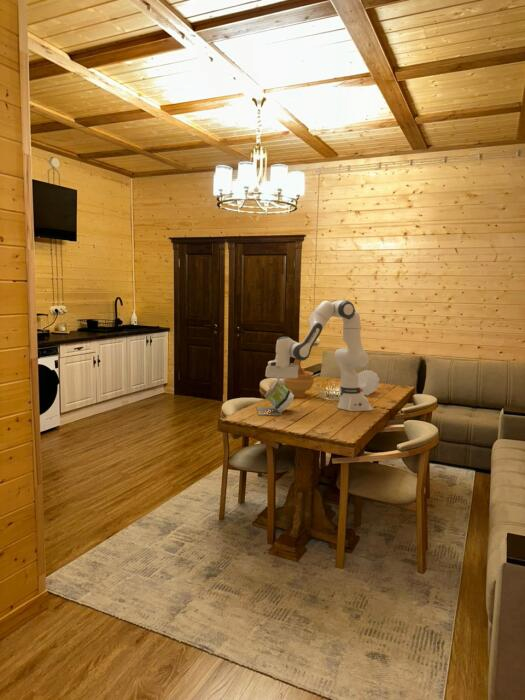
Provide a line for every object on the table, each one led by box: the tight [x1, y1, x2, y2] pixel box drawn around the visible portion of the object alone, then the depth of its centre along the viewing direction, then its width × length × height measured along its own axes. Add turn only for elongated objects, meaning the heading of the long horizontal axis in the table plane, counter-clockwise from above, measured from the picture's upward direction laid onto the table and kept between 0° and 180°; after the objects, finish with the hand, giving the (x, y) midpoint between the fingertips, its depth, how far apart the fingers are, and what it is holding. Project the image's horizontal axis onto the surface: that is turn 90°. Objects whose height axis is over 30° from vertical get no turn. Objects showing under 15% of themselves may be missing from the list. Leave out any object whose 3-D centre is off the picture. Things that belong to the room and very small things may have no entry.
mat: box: [255, 406, 284, 416], centre depth 299 cm, size 15×20×1 cm
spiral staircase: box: [357, 369, 380, 396], centre depth 362 cm, size 18×18×25 cm
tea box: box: [264, 380, 295, 413], centre depth 300 cm, size 15×10×15 cm
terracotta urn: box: [284, 358, 315, 398], centre depth 346 cm, size 21×21×30 cm
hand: (281, 384), depth 298 cm, fingers closed
